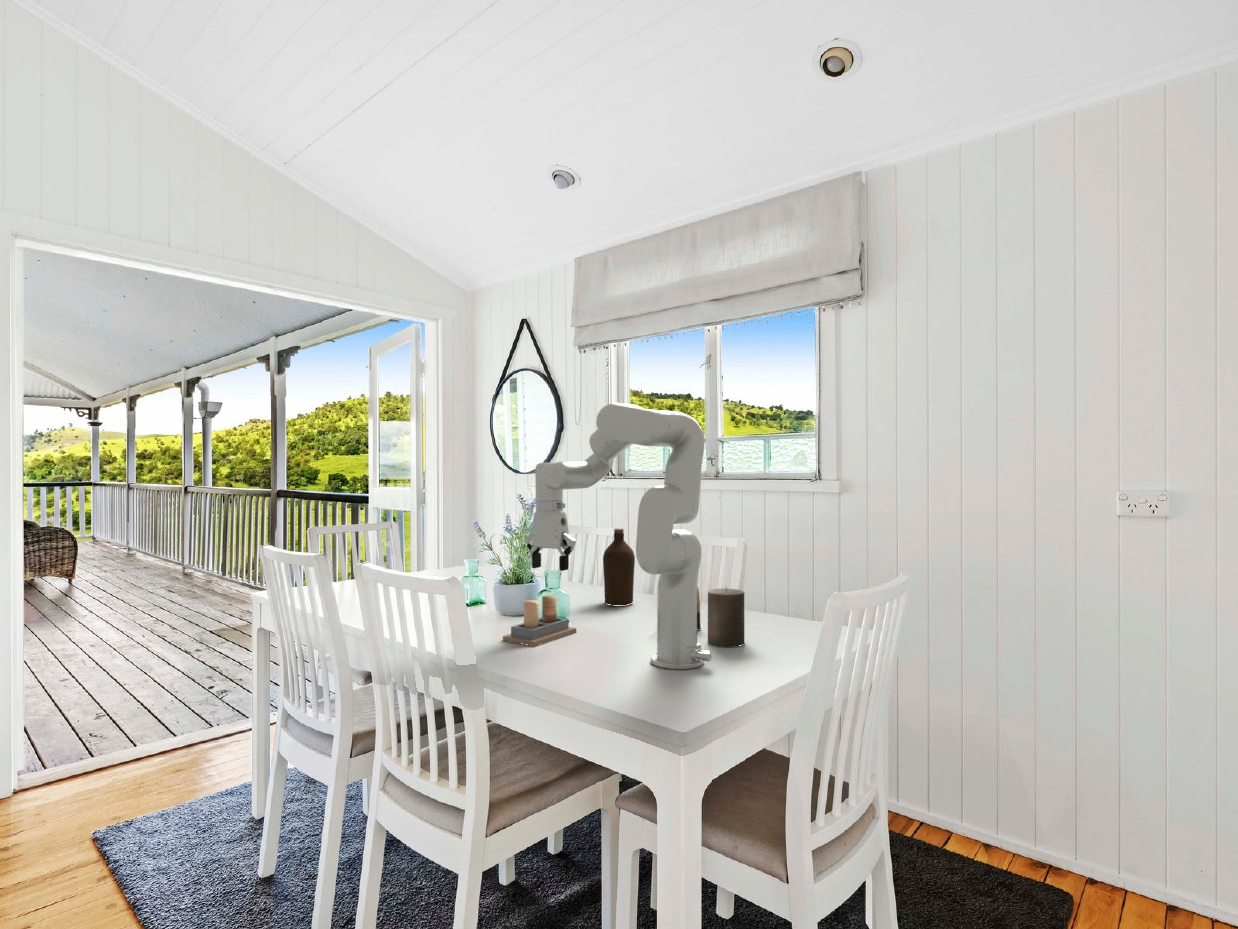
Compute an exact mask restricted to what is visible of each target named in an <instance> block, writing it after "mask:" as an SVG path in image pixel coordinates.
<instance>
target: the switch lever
mask: <svg viewBox="0 0 1238 929" xmlns="http://www.w3.org/2000/svg"><path fill="white" fill-rule="evenodd" d="M557 600H558V598H557V596H556V595H544V596H542V600H541V608H542V610H541V618H542V622H545V623H554V622H557V618H558V615H557V614H558V613H557V612H558V610H557V607H558V606H557V605H558V602H557Z"/></svg>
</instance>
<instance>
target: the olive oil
mask: <svg viewBox="0 0 1238 929" xmlns="http://www.w3.org/2000/svg"><path fill="white" fill-rule="evenodd" d="M602 556H603V557H602V563H603V564H602V565H603V566H602V567H603V582H604V584H603V587H604V603H605V602H606V603H607V604H611V605H627V604H630V603H632V602H633V603H634V585H635V584H634V583H635V582H634V581H635V565H636V564H635V563H636V559H635V558H636V557H635V556H636V555H635V553H634V550H633V549H632V548H631V546H630V545H629V544H628V543H627V542H626V541H625V533H624V528H613V541H612V542H611V543H610V544H609V545H608V547H607V548H606V549H605V550H604V553H603V555H602Z"/></svg>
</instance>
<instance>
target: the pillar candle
mask: <svg viewBox="0 0 1238 929" xmlns="http://www.w3.org/2000/svg"><path fill="white" fill-rule="evenodd" d="M745 632H746V631H745V591H744V590H742V589H738V588H727V586H725V588H713V589H709V590H707V643H708V644H709V643H710V644H709V645H711V644H712V645H711V646H714V647H719V648H734V647H733V646H739V645H742V644H744V645H745ZM742 646H743V645H742ZM739 647H740V646H739Z"/></svg>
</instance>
